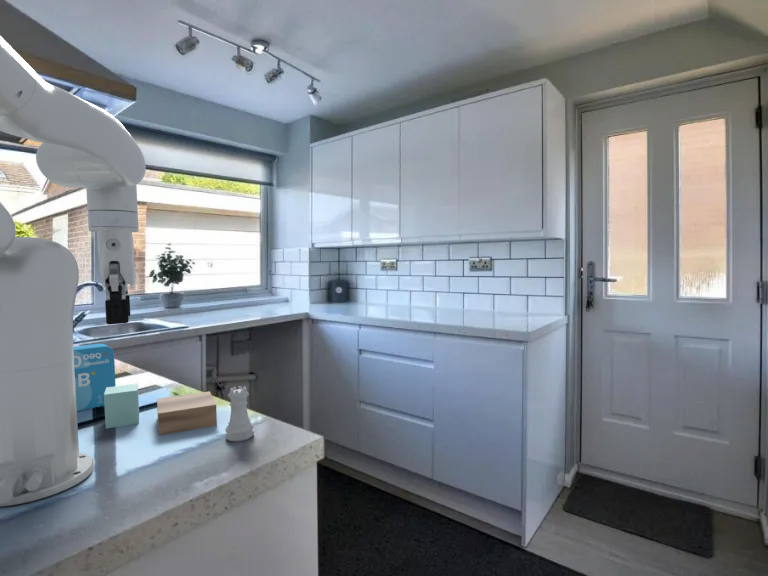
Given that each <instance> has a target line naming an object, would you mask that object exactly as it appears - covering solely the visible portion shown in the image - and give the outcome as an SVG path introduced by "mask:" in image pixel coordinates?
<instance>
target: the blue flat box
mask: <svg viewBox="0 0 768 576" xmlns="http://www.w3.org/2000/svg"><path fill="white" fill-rule="evenodd" d="M73 351H74V370H75V389H76V407H77V412H80V411H81V410H82V411H85V410H86V409H87V410H91V409H90V408H92V409H96V408H95V407H97V408H101V406H102V407H105V405H104V393H105V390H106V387H114V386H117V385H116V367H115V352H114V349H112V347H110V346H108V345H107V344H104V343H94V344H86V345H85V344H84V345H78V346H77V345H76V346H73ZM82 411H81V412H82Z"/></svg>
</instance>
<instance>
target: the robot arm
mask: <svg viewBox="0 0 768 576" xmlns="http://www.w3.org/2000/svg"><path fill="white" fill-rule="evenodd" d="M0 132H1V133H2V132H3V133H5V134H8V135H12V136H15V137H18V138H21V139H25V140H30V141H34V142H38V143H41V144H40V145H39V146H38V148H37V150H36V153H35V154H36V155H35V161H36V165H37V167H38V169H39V171H40V172H41V174H42V175H43V176H44V177H45V178H46V179H47V180H48V181H50V182H51V183H53V184H56V185H58V186H61V187H65V188H79V189H82V188H83V189H85V190H86V206H87V221H88V226H87V227H88V231H89V232H96V236H97V252H98V253H97V254H98V255H97V256H98V265H99V274H100V281H101V286H102V288H104V289H105V292H106V293H105V297H106V299H105V300H104V305H105V306H104V307H105V308H104V309H105V321H106V324H107V325H121V324H128V323H129V320H130V319H129V317H131V302H130V301H131V300H130V299H131V297H130V294H129V289H128V288H129V287H128V285H130V288H134V287H135V286H136V284H137V283H136V264H135V263H136V262H135V258H136V257H135V248H134V246H135V245H134V237H133V236H134V235H133V233H137V232H139V231H140V229H139V228H140V227H139V226H140V225H139V213H138V212H139V211H138V209H139V208H138V207H139V205H138V191H137V190H138V189H137V188H138V187H137V185H138V184H140V183H141V182H142V180H143V179H144V177H145V175H146V170H147V169H146V167H147V165H146V160H145V156H144V154H143V152H142V149H141V148H140V146H139V145H138V143H137V142H136V140H135V138H133V136H132V135H131V133H130V132H129V131H128V130H127V129H126V128H125V126H124V125H123V124H122V123H121V122H120V121H119V120H118V119H117V118H115V117H114V116H113V114H110V113H109V112H107V111H106V110H105V109H103V108H100V107H99V106H97V105H95V104H93V103H91V102H89V101H86V100H85V99H83V98H81V97H80V96H77V95H75V94H73V93H71V92H70V91H67V90H65V89H64V88H61V87H58V86H56V85H54V84H51V83H49V82H48V81H45V80H44V79H43V78H42V77H41V76H40V75H39V74H38V73H37V72H36V71H35V70H34V69H33V68H32V67H31V66H30V65H29V63H27V62H26V61H25V60H24V59H23V57H21V55H20V54H19V53H18V52H17V51H16V50H15V49H13V47H12V46H11V45H10V44H9V42H7V41H6V39H4V38H3V37H2V36H1V35H0ZM16 229H17V228H16V224H15V222H14V219H13V217H12V215H11V213H10V212H9V210H8V209H7V208H6V207H5V205H4V204H3V203H2V202H1V201H0V507H7V506H8V507H9V506H15V505H22V504H26V503H30V502H34V501H39V500H41V499H45V498H49V497H50V496H53V495H56V494H60V493H62V492H63V491H66V490H69V489H70V488H72V487H74V486H76V485H78V484H79V483H81V482H82V481H84V480H85V479H86V478H87V477H89V476H90V474H92V472H93V471H94V467H95V465H94V458H93V457H92V456H91V455H88V454H86V453H82V452H80V448H79V428H78V427H79V426H78V411H77V407H76V389H75V370H74V351H73V347H74V315H75V314H74V313H75V312H74V311H75V303H76V298H77V293H78V286H79V277H80V269H79V265H78V262H77V258H76V257H75V256H74V254H73V253H72V252H71V250H70V249H68V248H67V247H66V246H64V245H62V244H60V243H59V242H56V241H54V240H50V239H46V238H40V237H29V236H16V234H17V230H16Z"/></svg>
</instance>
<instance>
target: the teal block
mask: <svg viewBox="0 0 768 576" xmlns="http://www.w3.org/2000/svg"><path fill="white" fill-rule="evenodd" d="M139 397H140V396H139V384H138V383H133V384H124V385H116V386H114V387H106V390H105V393H104V405H105V406H104V417H105V418H104V419H105V421H104V422H105V429H113V428H118V427H125V426H129V425H131V426H132V425H137V424H139V423H140V406H139V405H140V403H139V402H140V401H139Z"/></svg>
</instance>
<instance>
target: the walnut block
mask: <svg viewBox="0 0 768 576" xmlns="http://www.w3.org/2000/svg"><path fill="white" fill-rule="evenodd" d="M156 407H157V409H156V410H157V426H158V435H159V436H163V435H169V434H170V435H171V434H174V433H181V432H187V431H190V430H191V431H192V430H193V431H194V430H197V429H203V428H209V427H215V426H218V418H217V417H218V416H217V404H216V401H215V399H214V397H213V396H212V393H211V391H204V392H203V391H202V392H195V393H190V394H188V393H187V394H181V395H173V396H169V397H168V396H167V397H160V398H157V399H156Z"/></svg>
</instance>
